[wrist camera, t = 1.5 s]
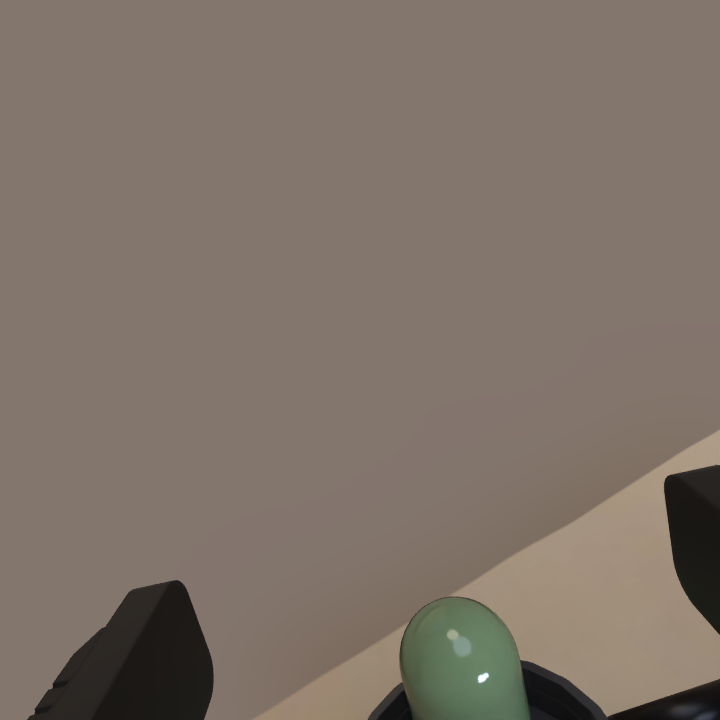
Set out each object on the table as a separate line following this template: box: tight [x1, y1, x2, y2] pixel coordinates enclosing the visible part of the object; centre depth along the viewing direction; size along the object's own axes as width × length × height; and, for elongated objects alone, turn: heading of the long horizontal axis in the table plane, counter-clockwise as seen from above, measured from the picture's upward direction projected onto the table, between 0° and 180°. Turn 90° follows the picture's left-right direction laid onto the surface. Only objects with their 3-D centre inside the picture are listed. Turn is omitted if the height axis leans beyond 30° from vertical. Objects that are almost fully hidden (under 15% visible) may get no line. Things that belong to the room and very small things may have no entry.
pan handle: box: [607, 679, 720, 720], centre depth 24 cm, size 9×2×2 cm, turn 98°
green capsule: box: [399, 597, 532, 720], centre depth 22 cm, size 5×5×10 cm
